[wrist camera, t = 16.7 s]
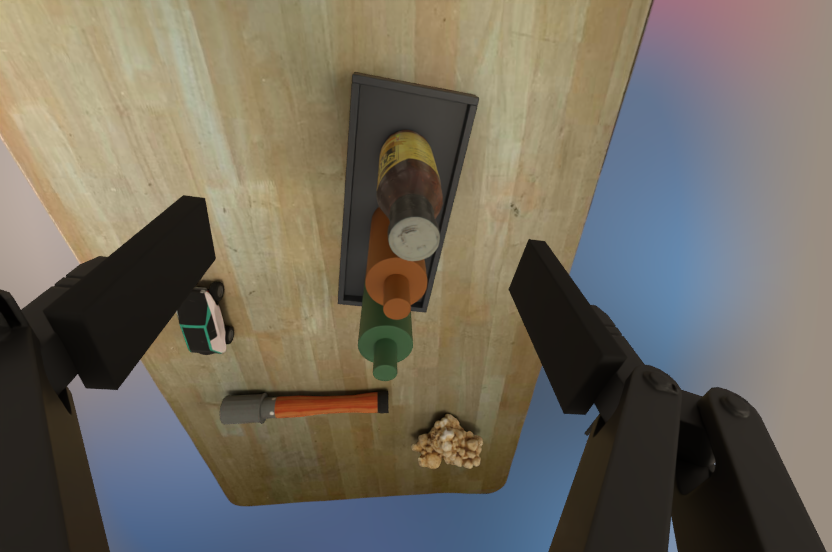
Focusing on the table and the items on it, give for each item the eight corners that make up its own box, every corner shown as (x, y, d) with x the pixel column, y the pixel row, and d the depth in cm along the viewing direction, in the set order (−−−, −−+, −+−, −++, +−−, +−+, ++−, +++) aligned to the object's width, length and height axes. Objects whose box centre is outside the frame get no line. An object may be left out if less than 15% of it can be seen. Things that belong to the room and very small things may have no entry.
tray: (354, 71, 38) (352, 73, 36) (475, 94, 40) (479, 97, 38) (339, 294, 55) (337, 304, 53) (425, 303, 57) (426, 312, 55)
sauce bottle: (383, 123, 41) (378, 186, 24) (436, 133, 42) (465, 200, 25) (376, 178, 44) (367, 265, 28) (425, 186, 45) (444, 275, 29)
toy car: (198, 335, 58) (182, 360, 54) (179, 275, 52) (159, 298, 47) (235, 336, 59) (223, 361, 55) (222, 278, 52) (206, 300, 48)
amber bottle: (374, 197, 46) (365, 277, 31) (422, 204, 47) (437, 285, 32) (369, 240, 49) (359, 331, 34) (414, 246, 50) (424, 337, 35)
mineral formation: (441, 405, 72) (498, 428, 77) (407, 428, 80) (460, 448, 85) (440, 444, 66) (501, 468, 71) (403, 465, 74) (461, 485, 79)
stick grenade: (388, 397, 65) (215, 405, 62) (388, 422, 66) (220, 432, 63) (387, 381, 70) (228, 388, 67) (388, 405, 71) (232, 413, 68)
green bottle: (367, 256, 51) (357, 350, 36) (411, 261, 52) (419, 355, 37) (363, 292, 54) (352, 390, 39) (404, 296, 55) (409, 393, 40)
